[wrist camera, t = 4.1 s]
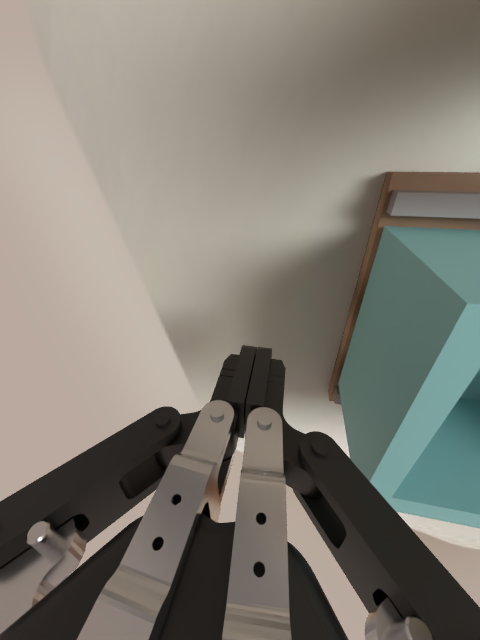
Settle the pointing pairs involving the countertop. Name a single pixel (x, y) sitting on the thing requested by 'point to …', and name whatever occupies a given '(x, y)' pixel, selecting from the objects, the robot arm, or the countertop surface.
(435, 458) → the holder
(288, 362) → the countertop surface
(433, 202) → the track board
